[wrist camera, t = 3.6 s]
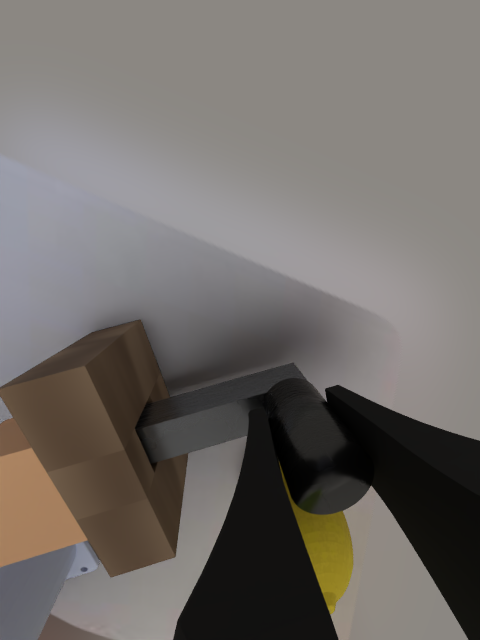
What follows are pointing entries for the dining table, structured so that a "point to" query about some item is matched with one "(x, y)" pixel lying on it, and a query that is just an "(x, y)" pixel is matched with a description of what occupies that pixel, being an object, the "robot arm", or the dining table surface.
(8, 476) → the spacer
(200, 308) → the dining table surface
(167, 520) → the bracket
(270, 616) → the robot arm
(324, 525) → the lemon
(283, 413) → the shaft
